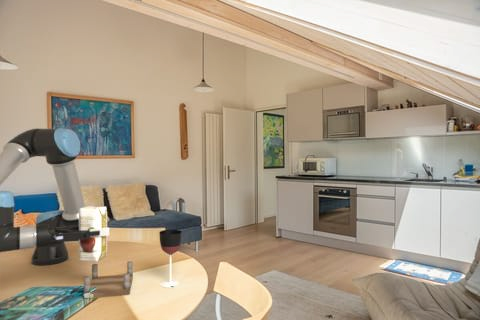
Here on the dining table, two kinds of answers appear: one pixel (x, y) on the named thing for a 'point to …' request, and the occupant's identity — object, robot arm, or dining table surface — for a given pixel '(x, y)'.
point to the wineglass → (170, 249)
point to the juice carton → (96, 245)
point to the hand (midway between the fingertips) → (106, 228)
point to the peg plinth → (109, 283)
